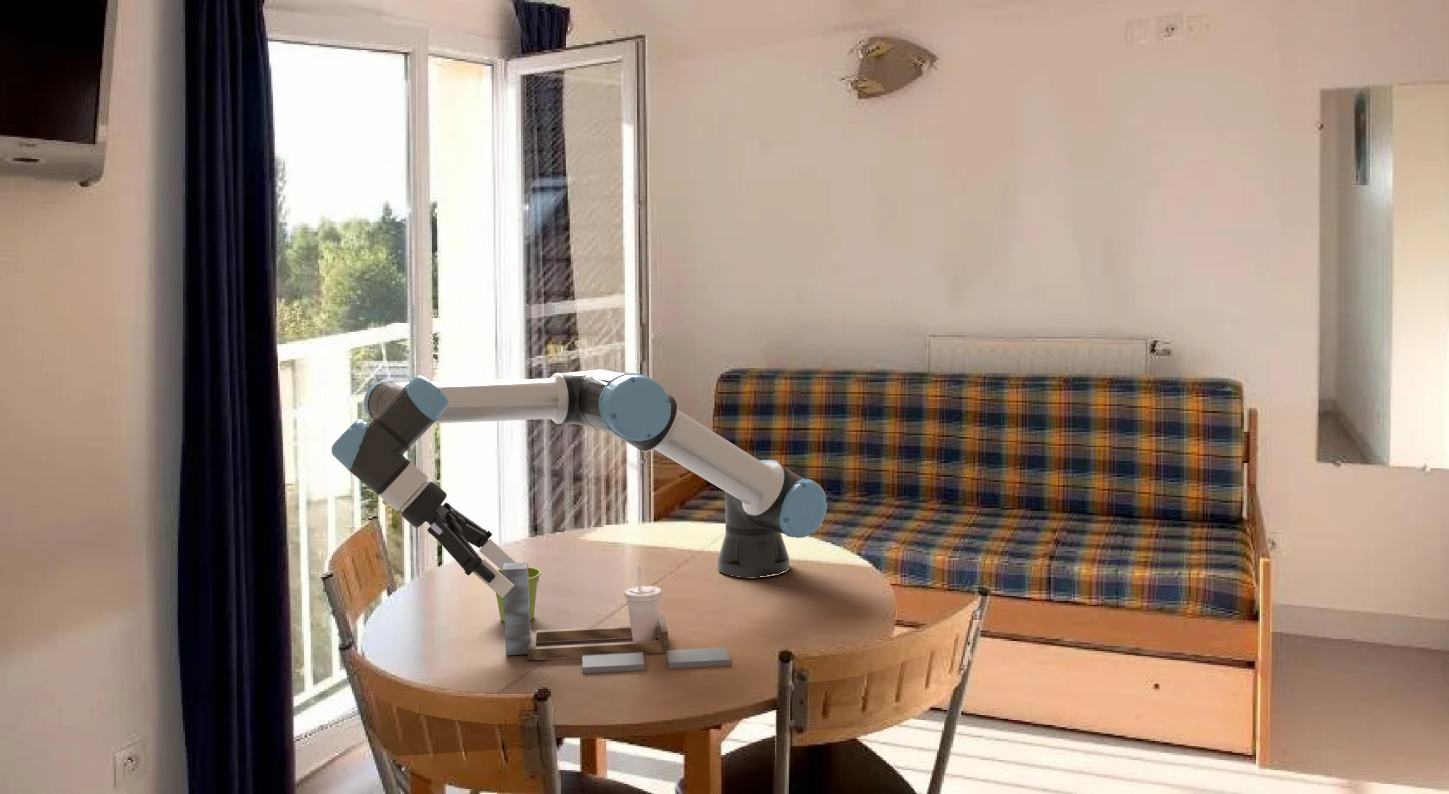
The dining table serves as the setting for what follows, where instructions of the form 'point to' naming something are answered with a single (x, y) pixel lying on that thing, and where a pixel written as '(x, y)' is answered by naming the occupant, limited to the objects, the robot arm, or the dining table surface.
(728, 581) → the dining table surface
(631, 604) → the smoothie
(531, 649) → the sled
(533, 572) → the plant pot
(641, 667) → the broken strip
